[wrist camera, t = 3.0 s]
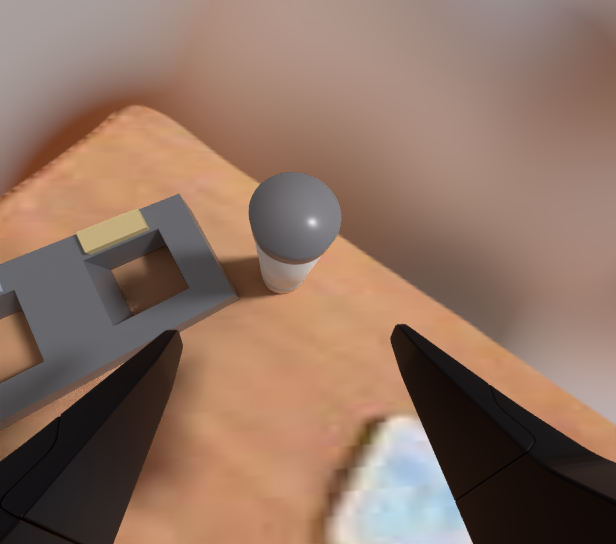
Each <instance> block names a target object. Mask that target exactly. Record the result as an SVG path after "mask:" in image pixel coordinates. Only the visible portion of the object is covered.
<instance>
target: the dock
mask: <svg viewBox="0 0 616 544" xmlns="http://www.w3.org/2000/svg"><path fill="white" fill-rule="evenodd" d="M166 245H167V246H168V248H169V250H170V252H171V254H172V256H173V258H174V260H175V262H176V264H177V265H178V267H179V269H180V271H181V273H182V275H183V277H184V279H185V281H186V283H187V285H188V287H189V288H188V289H186V290H184V291H182V292H180V293H178V294H176V295H175V296H173V297H171V298H169V299H167V300H165V301H163V302H161V303H159V304H157V305H155V306H153V307H151V308H149V309H147V310H145V311H143V312H141V313H139V314H137V315H135V316H133V315H132V313H131V311H130V309H129V307H128V305H127V303H126V300H125V298H124V296H123V294H122V292H121V290H120V288H119V286H118V284H117V282H116V280H115V278H114V275H113V273H112V271H111V270H112V269H114V268H116V267H119V266H121V265H123V264H125V263H128V262H130V261H132V260H134V259H137V258H139V257H141V256H143V255H146V254H148V253H150V252H152V251H155V250H157V249H159V248H161V247H164V246H166ZM239 299H240V298H239V297H238V295H237V293H236V291H235V289H234V287H233V286H232V284H231V282H230V280H229V278H228V277H227V275H226V273H225V271H224V269H223V267H222V266H221V264H220V262H219V260H218V258H217V257H216V255H215V253H214V251H213V249H212V247H211V246H210V244H209V242H208V240H207V238H206V237H205V235H204V233H203V231H202V229H201V227H200V226H199V224H198V222H197V220H196V218H195V217H194V215H193V213H192V211H191V210H190V208H189V207H188V205H187V204H186V203H185V201H184V200H183V199H182V197H181V196H180V194H177V195H175V196H172V197H170V198H167V199H165V200H162V201H160V202H157V203H154V204H152V205H149V206H147V207H144V208H142V209H140V208H139V209H134V210H131V211H129V212H126V213H124V214H121V215H119V216H116V217H114V218H111V219H108V220H106V221H103V222H101V223H98V224H96V225H93V226H91V227H88V228H86V229H83V230H80V231H78V232H76V235H73V236H71V237H68V238H66V239H63V240H61V241H58V242H56V243H53V244H50V245H48V246H45V247H43V248H40V249H38V250H35V251H33V252H30V253H28V254H25V255H23V256H20V257H17V258H15V259H12V260H10V261H7V262H5V263H2V264H0V319H2V318H4V317H6V316H9V315H11V314H13V313H15V312H18V311H20V310H22V309H23V312H24V314H25V316H26V319H27V321H28V324H29V326H30V328H31V331H32V333H33V336H34V338H35V341H36V343H37V345H38V348H39V350H40V353H41V355H42V357H43V360H44V362H42V363H40V364H38V365H36V366H34V367H32V368H30V369H28V370H26V371H24V372H22V373H20V374H18V375H16V376H14V377H12V378H10V379H8V380H6V381H4V382H2V383H0V430H2V429H4V428H6V427H8V426H9V425H11V424H13V423H15V422H17V421H18V420H20V419H22V418H24V417H26V416H28V415H29V414H31V413H33V412H35V411H37V410H39V409H40V408H42V407H44V406H46V405H48V404H49V403H51V402H53V401H55V400H57V399H59V398H60V397H62V396H64V395H66V394H68V393H70V392H71V391H73V390H75V389H77V388H79V387H80V386H82V385H84V384H86V383H88V382H90V381H91V380H93V379H95V378H97V377H99V376H101V375H102V374H104V373H106V372H108V371H110V370H111V369H113V368H115V367H117V366H119V365H121V364H122V363H124V362H126V361H128V360H129V359H130V358H131V357H133V356H134V355H135V354H136V353H138V352H139V351H140V350H141V349H143V348H144V347H145V346H146V345H147V344H149V343H150V342H151V341H152V340H154V339H155V338H156V337H157V336H159V335H160V334H161V333H162V332H164V331H165V330H178V331H179V332H181V331H183V330H184V329H186V328H188V327H190V326H192V325H194V324H195V323H197V322H199V321H201V320H203V319H205V318H206V317H208V316H210V315H212V314H214V313H215V312H217V311H219V310H221V309H223V308H225V307H226V306H228V305H230V304H232V303H234V302H236V301H237V300H239Z"/></svg>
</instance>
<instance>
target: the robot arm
mask: <svg viewBox="0 0 616 544" xmlns="http://www.w3.org/2000/svg"><path fill="white" fill-rule="evenodd" d="M390 340H391V344H392V348H393V351H394V354H395V357H396V360H397V364H398V367H399V370H400V373H401V376H402V378H403V381H404V383H405V385H406V388H407V390H408V392H409V395H410V397H411V399H412V402H413V404H414V406H415V409H416V411H417V413H418V416H419V418H420V420H421V423H422V425H423V427H424V430H425V432H426V434H427V437H428V439H429V441H430V444H431V446H432V448H433V451H434V453H435V455H436V458H437V460H438V462H439V465H440V467H441V469H442V472H443V474H444V476H445V479H446V481H447V484H448V486H449V488H450V491H451V493H452V495H453V498H454V500H455V501H456V502H455V503H456V505H457V507H458V510H459V512H460V514H461V517H462V519H463V521H464V524H465V526H466V528H467V531H468V533H469V535H470V538H471V540H472V542H473V544H616V463H615V462H613V461H610V460H608V459H605V458H603V457H601V456H599V455H597V454H595V453H593V452H591V451H590V450H588V449H586V448H585V447H583V446H581V445H580V444H578V443H577V442H575V441H573V440H572V439H570V438H569V437H567V436H566V435H564V434H563V433H561V432H560V431H558V430H556V429H555V428H553V427H552V426H550V425H549V424H547V423H546V422H544V421H542V420H541V419H539V418H538V417H536V416H535V415H533V414H532V413H530V412H529V411H527V410H526V409H524V408H523V407H521V406H520V405H518V404H517V403H515V402H514V401H512V400H511V399H509V398H508V397H507V396H505V395H504V394H502V393H501V392H499V391H498V390H497V389H495V388H494V387H493V386H491V385H489V384H488V383H487V382H486V381H484V380H483V379H481V378H480V377H479V376H477V375H476V374H474V373H473V372H472V371H470V370H469V369H467V368H466V367H465V366H463V365H462V364H460V363H459V362H458V361H456V360H455V359H454V358H452V357H451V356H449V355H448V354H447V353H445V352H444V351H442V350H441V349H440V348H438V347H437V346H435V345H434V344H433V343H431V342H430V341H428V340H427V339H426V338H424V337H423V336H421V335H420V334H419V333H417V332H416V331H415V330H413V329H412V328H410V327H409V326H408V325H406V324H397V325H396V326H395V328H394V330H393V332H392V335H391V338H390ZM182 349H183V344H182V340H181V337H180V334H179V331H178V330H165V331H164V332H162V333H161V334H160V335H159V336H157V337H156V338H155V339H154V340H152V341H151V342H150V343H149V344H147V345H146V346H145V347H144V348H143V349H141V350H140V351H139V352H138V353H136V354H135V355H134V356H133V357H131V358H130V359H129V360H128V361H126V362H125V363H124V364H123V365H121V366H120V367H119V368H118V369H116V370H115V371H114V372H113V373H112V374H110V375H109V376H108V377H107V378H105V379H104V380H103V381H102V382H100V383H99V384H98V385H97V386H95V387H94V388H93V389H92V390H90V391H89V392H88V393H87V394H85V395H84V396H83V397H82V398H81V399H79V400H78V401H77V402H76V403H74V404H73V405H72V406H71V407H69V408H68V409H67V410H66V411H64V412H63V413H62V414H61V416H60V417H57V418H56V419H54V420H53V421H52V422H51V423H49V424H48V425H47V426H46V427H44V428H43V429H42V430H41V431H39V432H38V433H37V434H36V435H34V436H33V437H32V438H30V439H29V440H28V441H27V442H25V443H24V444H23V445H22V446H20V447H19V448H18V449H16V450H15V451H14V452H12V453H11V454H10V455H8V456H7V457H6V458H4V459H3V460H2V461H0V544H113V543H114V540H115V538H116V535H117V533H118V530H119V527H120V525H121V522H122V519H123V517H124V514H125V512H126V509H127V506H128V504H129V501H130V498H131V496H132V493H133V491H134V488H135V485H136V483H137V480H138V477H139V475H140V472H141V470H142V467H143V464H144V462H145V459H146V456H147V454H148V451H149V449H150V446H151V443H152V441H153V438H154V435H155V433H156V430H157V428H158V425H159V422H160V420H161V417H162V414H163V412H164V409H165V407H166V404H167V401H168V399H169V396H170V393H171V390H172V387H173V384H174V380H175V376H176V372H177V368H178V365H179V361H180V357H181V353H182Z"/></svg>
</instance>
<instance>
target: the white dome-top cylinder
mask: <svg viewBox="0 0 616 544" xmlns="http://www.w3.org/2000/svg"><path fill="white" fill-rule="evenodd" d="M249 220H250V224H251V229H252V233H253V237H254V239H255V243H256V248H257V253H258V258H259V263H260V271H261V275H262V278H263V281H264V283H265V285H266V286H267V287H268V288H269V289H270V290H271V291H273V292H275V293H278V294H287V293H290V292H293V291H294V290H296V289H297V288H298V287H299V286H300V285H301V284H302V282H303V281H304V280H305V278H306V276H307V275H308V273H309V272H310V270H311V269H312V268H313V266H314V265H315V264H316V262H317V261H318V260H319V258H320V257H321V255H322V254H323V253H325V251H326V250H327V249H328V248H329V246H330V245H331V244H332V242H333V241H334V240H335V238H336V236H337V234H338V232H339V229H340V225H341V211H340V206H339V203H338V201H337V199H336V197H335V195H334V194H333V192H332V191H331V190H330V189H329V188H328V187H327V186H326V185H325V184H324V183H323V182H321V181H320V180H318V179H316V178H314V177H312V176H310V175H307V174H303V173H297V172H287V173H281V174H277V175H274V176H272V177H270V178H268V179H267V180H265V181H264V182H262V183H261V184H260V185H259V186H258V188H257V189H256V190H255V192H254V193H253V195H252V198H251V200H250V204H249Z"/></svg>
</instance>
